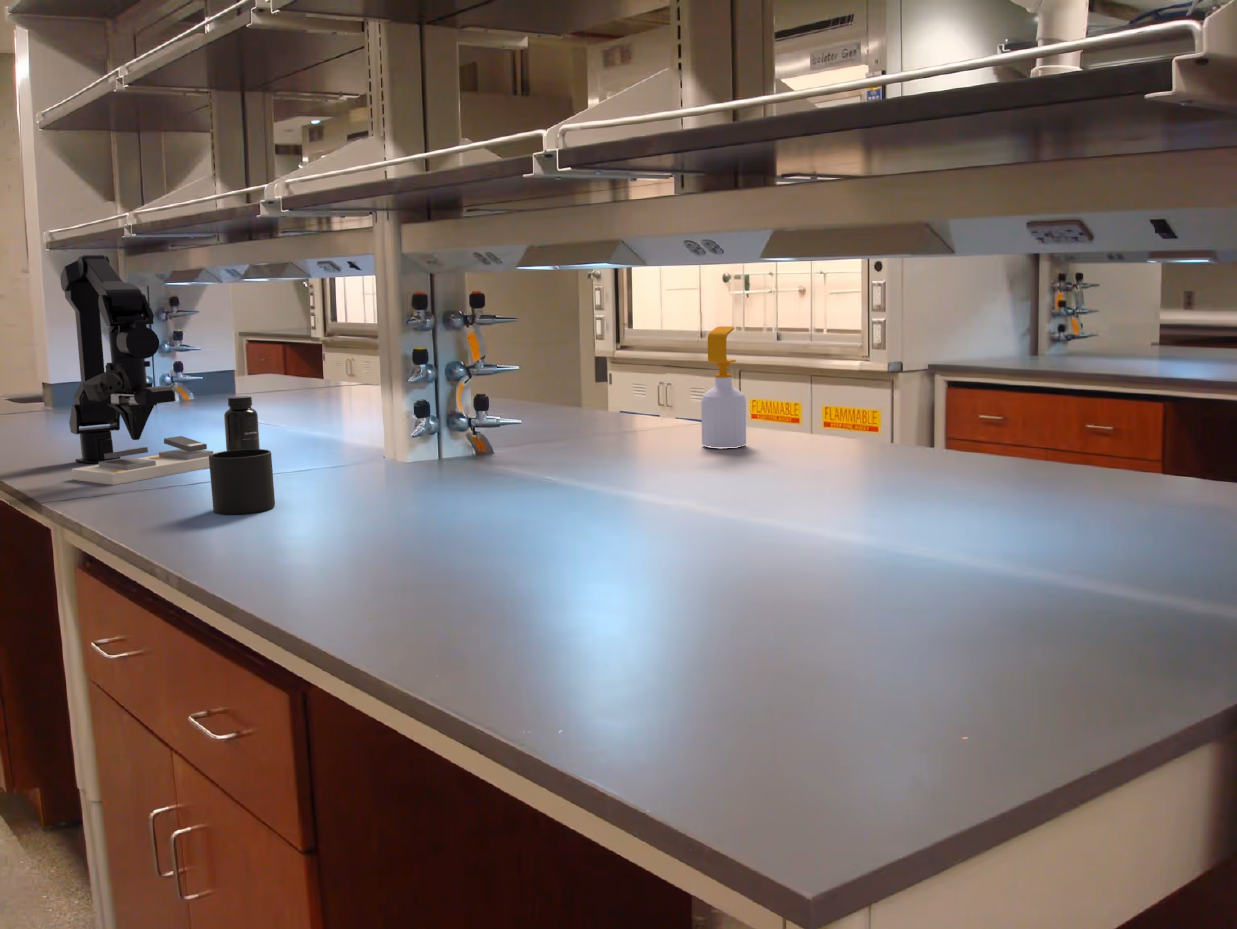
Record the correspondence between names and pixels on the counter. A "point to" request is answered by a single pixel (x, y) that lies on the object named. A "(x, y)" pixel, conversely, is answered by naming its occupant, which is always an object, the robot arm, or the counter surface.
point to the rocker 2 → (185, 443)
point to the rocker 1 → (126, 452)
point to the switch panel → (143, 467)
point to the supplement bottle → (241, 424)
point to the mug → (242, 481)
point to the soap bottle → (722, 399)
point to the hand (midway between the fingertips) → (135, 439)
